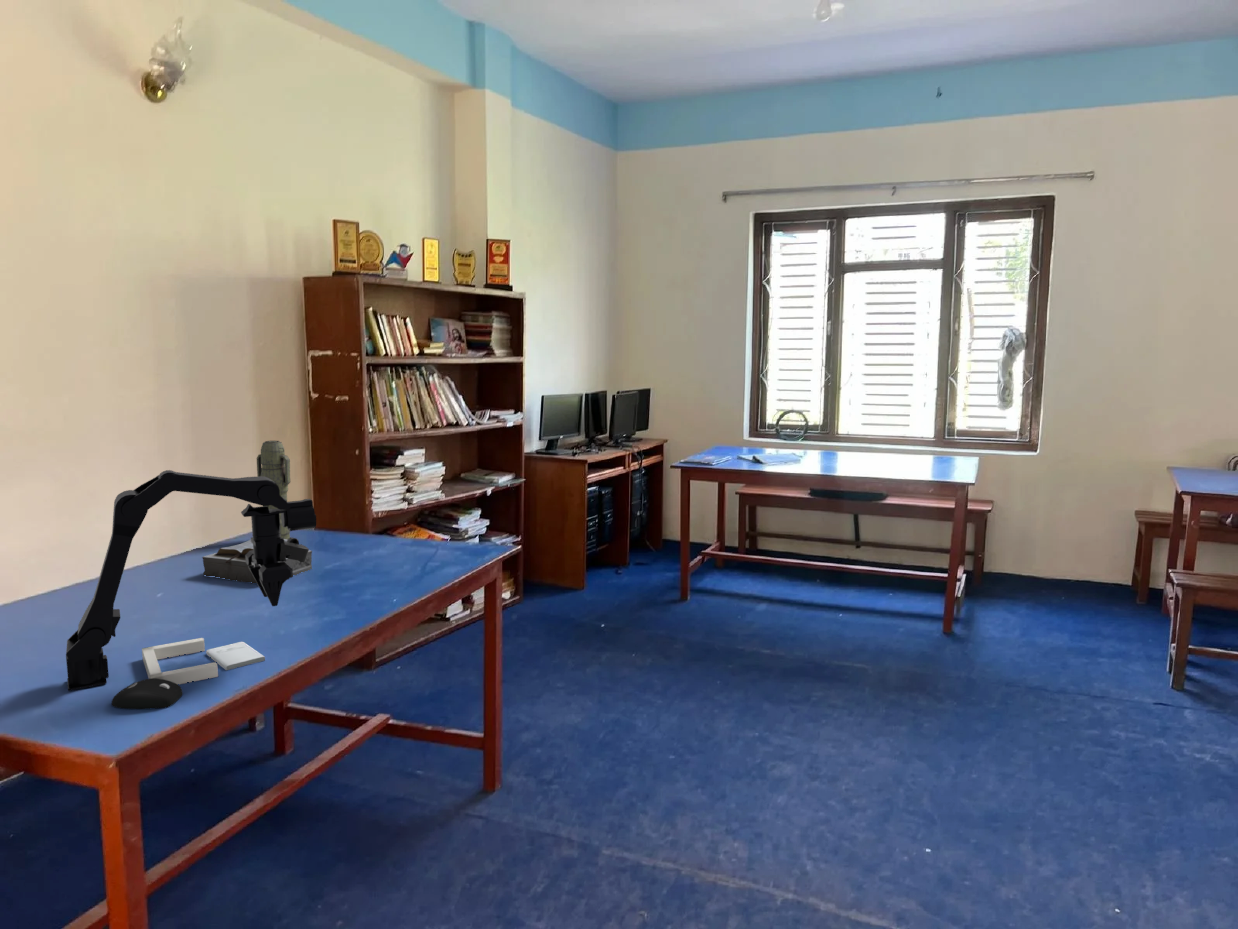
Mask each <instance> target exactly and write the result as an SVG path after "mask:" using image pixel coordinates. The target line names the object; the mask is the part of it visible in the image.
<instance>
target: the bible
mask: <svg viewBox="0 0 1238 929" xmlns="http://www.w3.org/2000/svg"><path fill="white" fill-rule="evenodd" d="M285 541H287V539H284V542H285ZM252 550H253V543H251V539H249V540H247V541H244V542H242V543H240V544H239V543H238V544H236V545H231V546H226V547H220V548H218V551H217V552H215V553H210V554H207V555H203V556H202V557H201V558H202V562H203V568H204V572H203V576H204V575H206V576H215V577H220V578H225V579H230V580H229V581H232V580H235V581H234V582H241V583H242V582H243V583H247V582H252V583H251V584H253V583H257V582H256V581H255V579H254V577H253V575H252V573H251V571H250V569H249V568H248V566H250V565H247V564H246V557H245V555H246V554H247V553H248V552H249V551H252ZM312 555H313V550H310V549H309V551H308V554H307V557H306V560H305V562H300V561H298V560H293V559H288V558H286V561H283V562H285V563H286V564H288V565H289V566H290V567H291V568H292V569H293V575H295V576H298V575H300V574H299V573H301V572H303V573H306V572H309V571H311V570H313V565H312V559H313V558H312ZM279 562H280V561H279ZM279 562H278V563H279ZM251 565H252V562H251ZM310 569H311V570H310ZM308 570H309V571H308ZM305 571H306V572H305ZM297 574H298V575H297ZM301 574H302V573H301ZM225 579H224V580H225ZM236 580H237V581H236Z"/></svg>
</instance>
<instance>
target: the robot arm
mask: <svg viewBox="0 0 1238 929" xmlns="http://www.w3.org/2000/svg"><path fill="white" fill-rule="evenodd" d="M173 492H180V493H188V494H189V493H193V494H201V495H211V496H222V497H228V498H229V497H230V498H234V499H238V500H242V501H245V502H248V504H247V505H246V507H245V508H244V509H243V510H242V511H241V512H240V513H241V515H242V516H243V517H244V518H249V517H251V518H250V519H251V532H252V536H251V537H250V540H251V543H253V550H252V551H249V552H248V553H247V554H246V555H245V557H246V564H247V565H250V566H248V568H249V569H250V571H251V573H252V575H253V577H254V579H255V581H256V582H257V584H256V585H257V586H258V588H259V589H260V592H261V593H262V596H263V597H264V598H268V601H269V603H270V605H271V606H272V607H277V606H278V604H279V601H280V596H281V591H282V588H283V585H284V583H285V582H286V581H287V580H290V579H291V578H293V577H294V576H293V569H292V568H291V567H290V566H289V565H288V564H286V563H285V562H283V561H286V558H288V559H293V560H298V561H300V562H305V560H306V557H307V554H308V551H309V550H310V548H308V547H307V546H306V545H303V544H301V543H300V541H299V539H298V538H297V537H291V536H290V538H289V539H288V540H287V541H285V542H284V539H283V538H282V537H281V535H280V518H279V513H281V522H282V526H283V527H287V529H288V531H290V532H293V531H301V530H310V529H311V530H312V529H315V528H316V526H317V515H316V512H315V507H314V504H313V503H314V502H313V500H312V499H311V498H305V499H302V500H293V501H290V500H289V501H288V499H287V500H286V499H285V498H283V497H281V496H280V490H279V487H278V485H277V484H276V483H275V482H273V481H272V480H271V479H269V478H268V477H264V476H259V477H258V476H245V477H238V478H237V477H236V478H232V477H223V476H215V475H213V476H212V475H206V474H204V475H203V474H195V473H186V472H180V471H179V472H177V471H174V470H170V469H169V470H168V469H167V470H164V471H161V472H160V473H159V474H158V475H156V476H155V477H153V478H152V479H149V480H148V481H146V482H144V483H142V484H140V485H139V486H137V487H136V488H134V489H127V490H123V491H122V492H120V493H118V494H117V495H116V497H115V499H114V502H113V515H112V526H111V527H112V530H111V535H110V539H109V543H108V547H107V549H106V553H105V556H104V561H103V563H102V568H101V569H100V574H99V577H98V580H97V583H96V589H95V591H94V595H93V597H92V599H91V601H90V602H89V605H87V607H86V610H84V613H83V615H82V617H81V619H80V620H79V623H78V625H77V630H76V631H75V632H74V633H73V634H72V635H71V636H70V637H69V638H68V639H67V640H66V651H65V660H66V673H67V678H66V679H67V691H69V692H70V691H71V692H72V691H75V690H82V689H86V688H90V687H91V688H92V687H97V686H102V685H106V684H107V681H108V680H107V679H108V678H109V676H110V675H109V674H110V673H109V664H108V656H107V655H106V654H104V650H103V647H105V646H107V645H108V644H109V643H110V641H111V639H112V637H113V638H115V637H116V628H117V627H118V624H119V622H120V619H121V611H120V608H116V609H115V608H114V604H115V600H116V597H117V594H118V590H119V588H120V583H121V580H122V576H123V573H124V570H125V566H126V563H127V560H128V556H129V552H130V549H131V546H132V542H133V540H134V537H135V536H136V534H137V532H138V531H139V530H140V527H141V526H142V524H143V521H145V518H146V517H147V514H148V512H149V509H151V508H153V507H154V506H156V505H157V504H158V503H159V502H161V501H162V500H163V499H164V498H165V497H167V496H168V495H169V494H171V493H173ZM250 503H251V504H254V505H259V506H253V505H251V504H250ZM269 505H272V506H274V507H276V508H278V509H269V508H268V506H269ZM279 561H280V562H279ZM251 562H252V565H251ZM278 562H279V563H278Z"/></svg>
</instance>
